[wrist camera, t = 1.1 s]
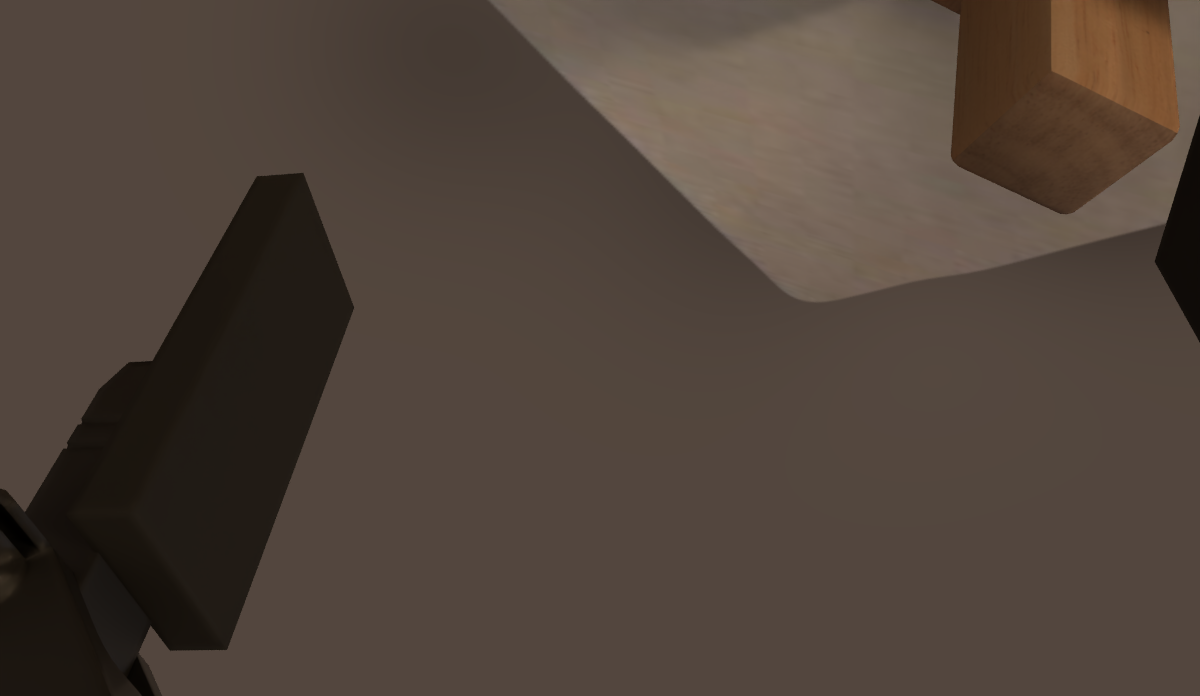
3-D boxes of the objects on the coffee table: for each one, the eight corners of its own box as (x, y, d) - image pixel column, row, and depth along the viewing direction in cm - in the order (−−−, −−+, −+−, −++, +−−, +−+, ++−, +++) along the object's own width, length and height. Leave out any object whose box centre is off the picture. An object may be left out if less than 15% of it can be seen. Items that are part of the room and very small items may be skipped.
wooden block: (988, -38, 44) (973, 291, 35) (900, -83, 43) (861, 242, 34) (1152, -222, 37) (1187, 136, 27) (1049, -281, 36) (1050, 68, 27)
